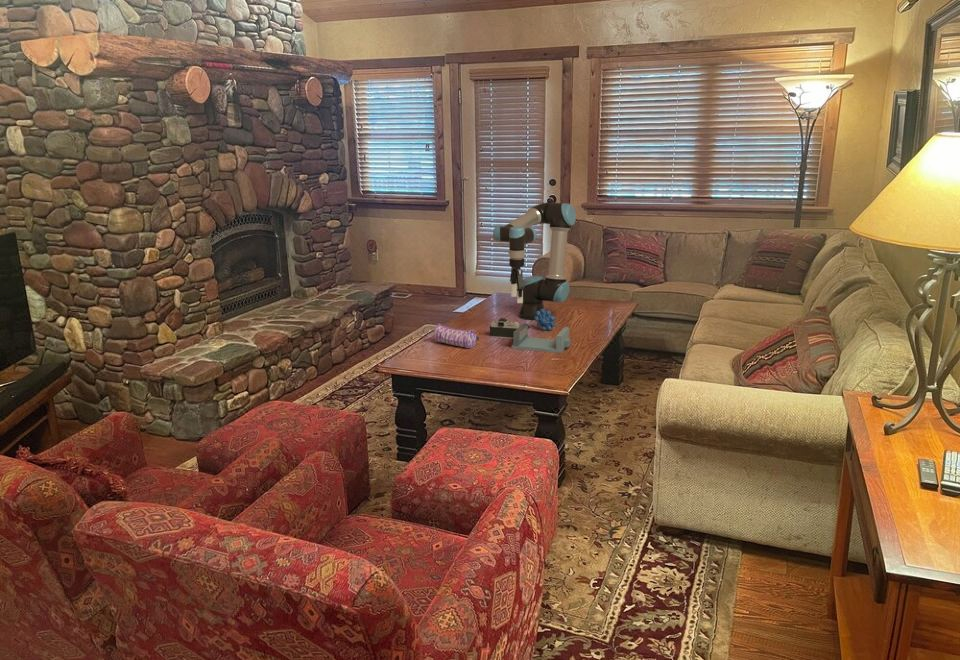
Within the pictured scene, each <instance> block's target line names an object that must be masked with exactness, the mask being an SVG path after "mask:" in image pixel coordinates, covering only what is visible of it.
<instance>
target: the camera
mask: <svg viewBox="0 0 960 660" xmlns="http://www.w3.org/2000/svg"><path fill="white" fill-rule="evenodd" d="M520 326H521V324H520V323H519V322H518V321H515V322H511V321H509V319H507V318H504V317H502V318H499V319H498V320H497V321H495V320H491V321H490V322H489V337H490V338H499V339H500V338H502V339H513V340H514V331H515V330H516V329H517V328H519V327H520Z"/></svg>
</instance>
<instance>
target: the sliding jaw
mask: <svg viewBox="0 0 960 660" xmlns="http://www.w3.org/2000/svg"><path fill="white" fill-rule="evenodd" d="M530 327H531V326H529V323H522V324H520V327H519V328H517V329H516V330H515V331H514V339H513V344H514V345H516V346H519V345H520V344H521V343H522V342H523V341H524V340H525V339H526V338H527V337H529V335H528V333H529V330H530Z"/></svg>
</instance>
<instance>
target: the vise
mask: <svg viewBox="0 0 960 660" xmlns="http://www.w3.org/2000/svg"><path fill="white" fill-rule="evenodd" d="M570 345H571V338H570V327H568V326H565V327H563V328H562V329H561V330H560V331H559V333H557V335H556V336H555V339H552V338H540V337H529V336H528V337H527V338H526V339H525V340H524V341H523V342H522V343H521V344H520V345H519V346H516V345H514V343H513V344H511V349H514V350H515V349H516V350H522V351H523V350H525V351H534V352H535V351H537V352H543V353H544V352H545V353H553V352H554V353H555V354H562V353H563V352H564V350H565V349H566V348H569V347H570Z"/></svg>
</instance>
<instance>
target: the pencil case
mask: <svg viewBox="0 0 960 660" xmlns="http://www.w3.org/2000/svg"><path fill="white" fill-rule="evenodd" d="M475 331H476V329H475V330H474V329H472V330H471V329H465V330H464V329H458V328H454V327H448V326H446V325H443V324H442V323H437V324H436V327H435V329H434V333H433V339H434V340H435V342H437V343H443V344H447V345H451V346H457V347H461V348H466V349H472V348H473V347H474V346H476V344H477V341H479V340H480V337H479V336H477V333H476V332H475Z"/></svg>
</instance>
